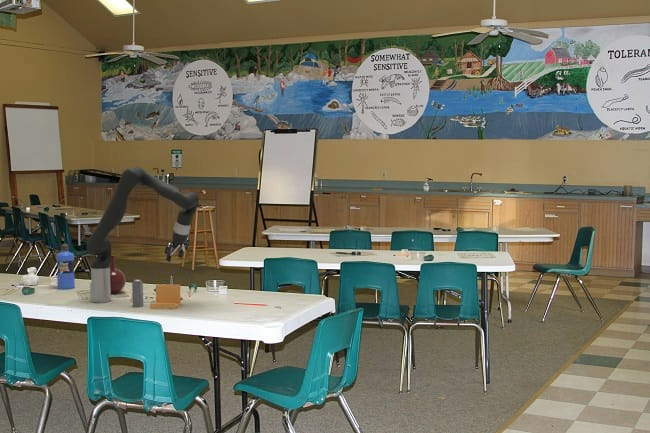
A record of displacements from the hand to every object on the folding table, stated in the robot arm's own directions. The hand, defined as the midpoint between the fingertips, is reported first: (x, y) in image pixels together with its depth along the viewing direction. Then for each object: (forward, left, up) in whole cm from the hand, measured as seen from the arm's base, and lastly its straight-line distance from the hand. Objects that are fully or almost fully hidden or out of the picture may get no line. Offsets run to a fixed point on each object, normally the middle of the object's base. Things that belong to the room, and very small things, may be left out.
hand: (174, 259), depth 400 cm
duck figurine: (-99, +53, -23) cm, 114 cm away
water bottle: (-74, +43, -23) cm, 88 cm away
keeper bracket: (-3, -7, -22) cm, 24 cm away
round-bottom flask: (-42, +29, -23) cm, 56 cm away
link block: (-17, -6, -22) cm, 29 cm away
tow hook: (-4, +12, -23) cm, 26 cm away
